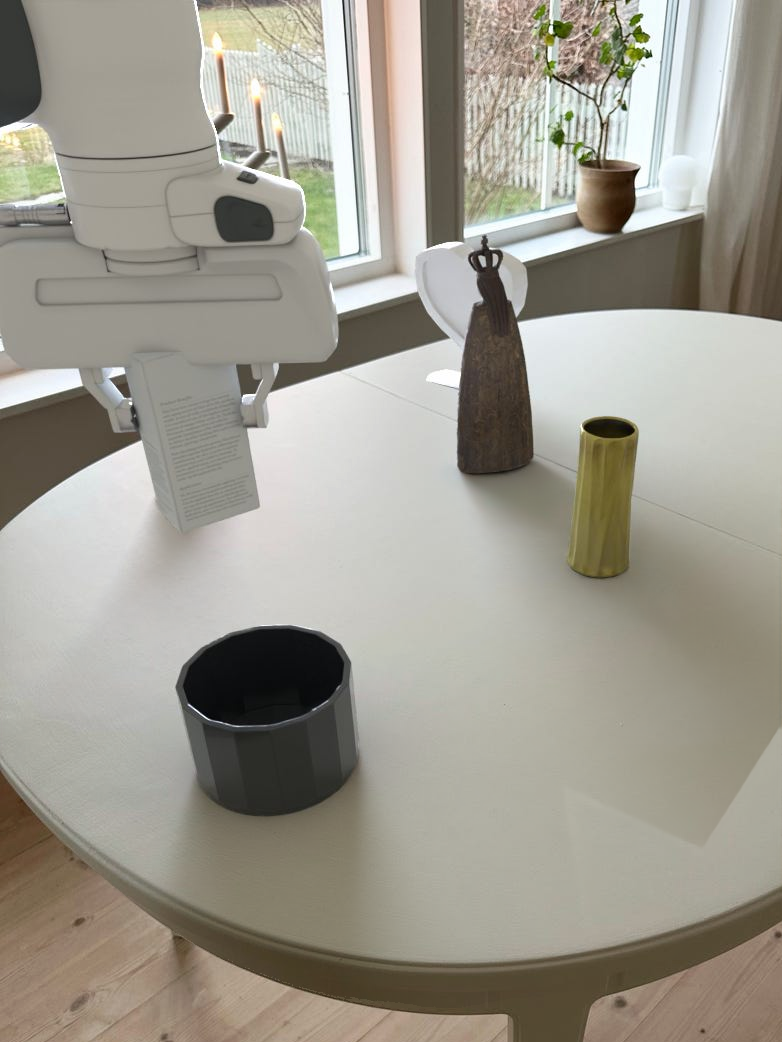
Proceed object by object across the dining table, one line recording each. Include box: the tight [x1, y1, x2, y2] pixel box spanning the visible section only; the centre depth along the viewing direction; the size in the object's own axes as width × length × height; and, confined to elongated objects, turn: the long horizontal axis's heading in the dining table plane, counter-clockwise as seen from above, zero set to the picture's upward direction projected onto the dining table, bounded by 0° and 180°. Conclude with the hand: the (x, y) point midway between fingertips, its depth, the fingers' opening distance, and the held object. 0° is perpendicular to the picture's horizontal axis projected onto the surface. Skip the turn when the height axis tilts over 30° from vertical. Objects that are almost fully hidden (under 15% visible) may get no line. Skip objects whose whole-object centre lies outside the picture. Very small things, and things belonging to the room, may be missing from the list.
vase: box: [566, 415, 640, 579], centre depth 90 cm, size 6×6×14 cm
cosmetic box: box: [123, 352, 261, 534], centre depth 63 cm, size 6×4×12 cm
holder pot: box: [174, 624, 360, 817], centre depth 69 cm, size 12×12×8 cm
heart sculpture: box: [414, 241, 529, 390], centre depth 128 cm, size 16×5×18 cm, turn 56°
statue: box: [456, 234, 535, 475], centre depth 105 cm, size 9×8×25 cm
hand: (193, 427), depth 63 cm, fingers closed on cosmetic box, 7 cm apart
